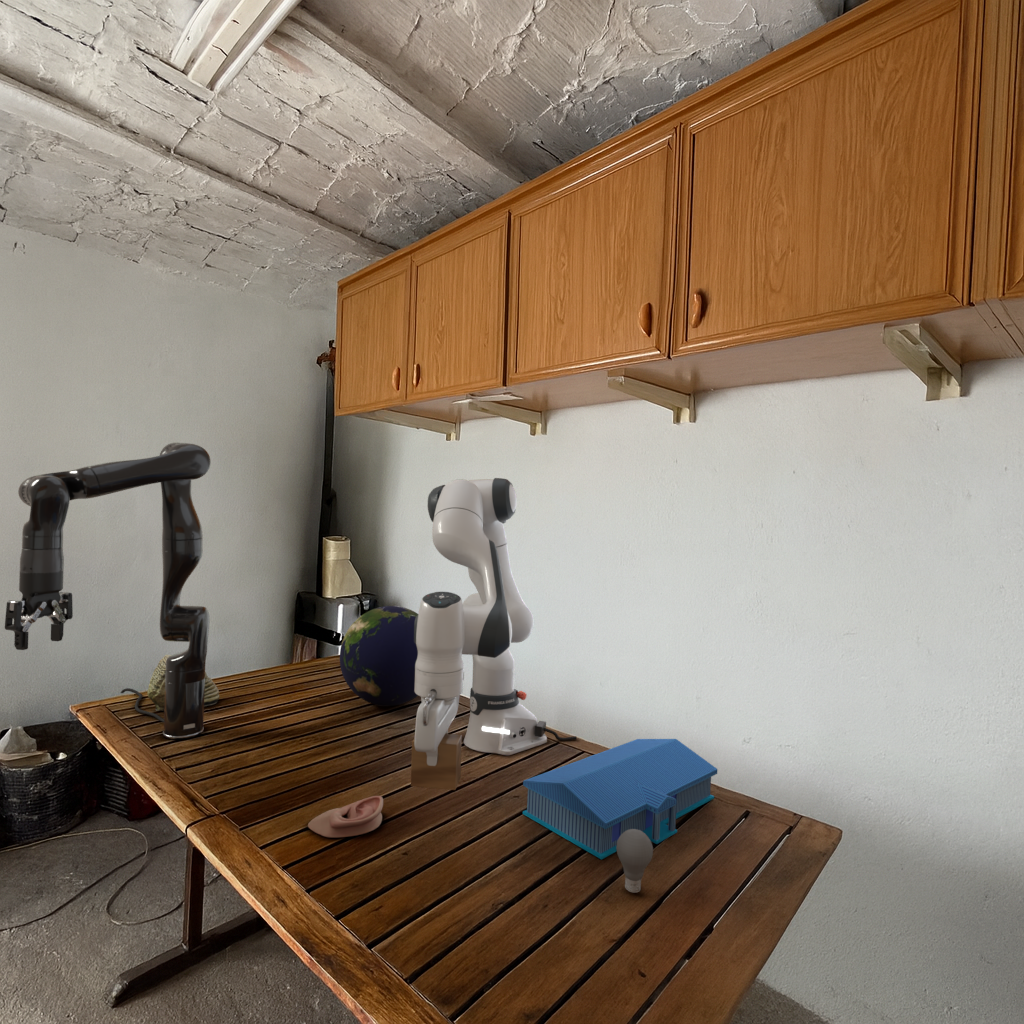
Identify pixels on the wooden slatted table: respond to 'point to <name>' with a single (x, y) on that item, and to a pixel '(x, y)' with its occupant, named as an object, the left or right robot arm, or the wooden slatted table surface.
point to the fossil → (158, 687)
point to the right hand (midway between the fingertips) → (436, 757)
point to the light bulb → (634, 857)
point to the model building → (621, 793)
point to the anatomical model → (349, 819)
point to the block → (438, 765)
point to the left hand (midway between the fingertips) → (39, 645)
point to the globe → (381, 656)
